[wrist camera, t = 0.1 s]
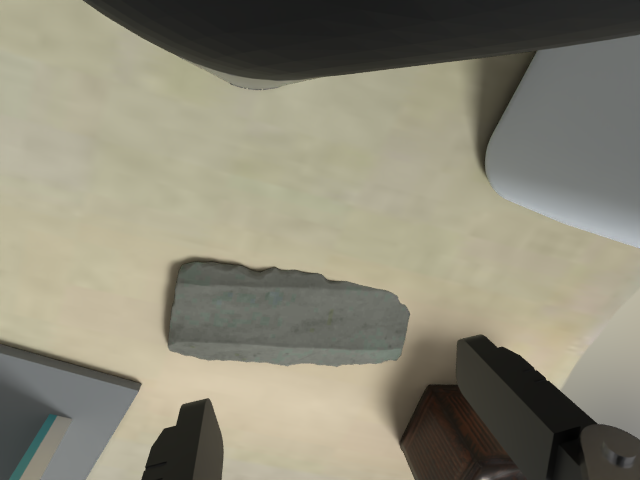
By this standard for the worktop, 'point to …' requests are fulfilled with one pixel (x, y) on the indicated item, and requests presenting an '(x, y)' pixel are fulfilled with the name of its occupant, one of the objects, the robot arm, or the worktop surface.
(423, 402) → the brown coffee grinder
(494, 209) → the worktop surface
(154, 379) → the worktop surface
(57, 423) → the glazed tile
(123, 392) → the rubber mat
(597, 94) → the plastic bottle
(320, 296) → the stone slab
